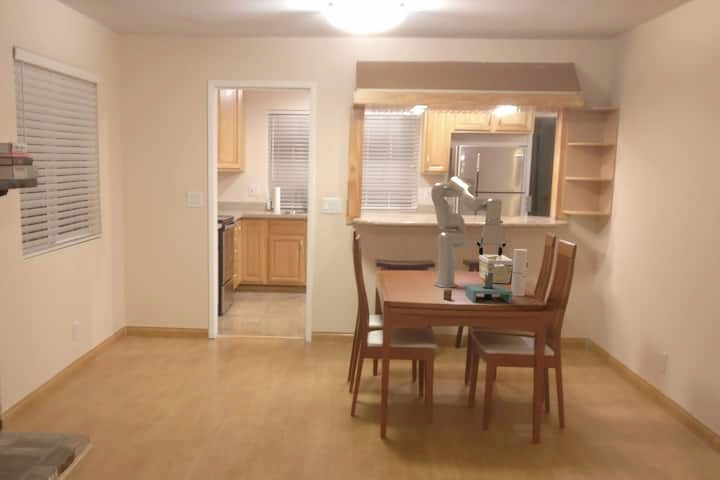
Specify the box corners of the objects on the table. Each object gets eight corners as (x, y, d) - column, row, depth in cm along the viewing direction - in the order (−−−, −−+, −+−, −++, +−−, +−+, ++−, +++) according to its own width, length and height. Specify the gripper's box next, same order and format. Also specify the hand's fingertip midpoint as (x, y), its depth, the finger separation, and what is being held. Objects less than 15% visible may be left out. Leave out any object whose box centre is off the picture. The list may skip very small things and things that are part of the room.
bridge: (465, 295, 301) (466, 284, 300) (502, 296, 302) (503, 285, 301) (472, 302, 285) (473, 290, 284) (511, 303, 286) (512, 291, 285)
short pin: (442, 298, 292) (443, 289, 291) (450, 298, 292) (450, 289, 291) (444, 300, 288) (444, 290, 287) (452, 300, 288) (452, 290, 287)
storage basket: (477, 276, 361) (478, 253, 359) (502, 277, 361) (503, 254, 359) (485, 283, 337) (487, 259, 335) (512, 284, 337) (514, 260, 335)
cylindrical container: (509, 293, 311) (512, 248, 308) (521, 293, 311) (524, 248, 308) (513, 296, 304) (516, 250, 301) (526, 296, 304) (529, 250, 301)
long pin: (483, 298, 295) (484, 272, 294) (490, 298, 296) (492, 272, 294) (485, 300, 291) (486, 273, 290) (492, 300, 292) (494, 273, 290)
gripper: (507, 222, 293) (504, 254, 295) (474, 221, 292) (472, 253, 294) (511, 224, 285) (508, 257, 288) (477, 222, 285) (475, 256, 287)
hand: (490, 255), depth 291 cm, fingers open, 9 cm apart
